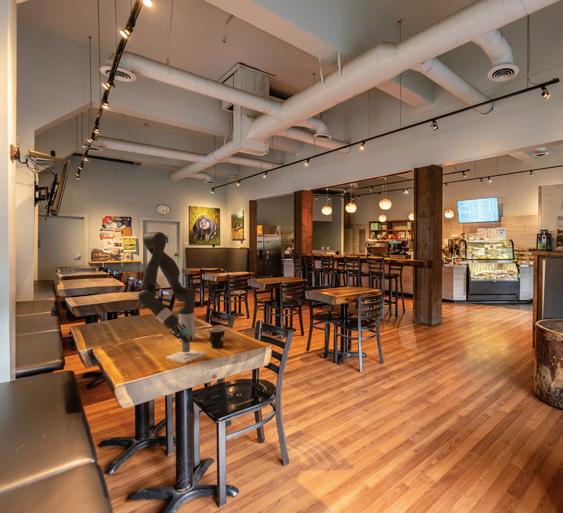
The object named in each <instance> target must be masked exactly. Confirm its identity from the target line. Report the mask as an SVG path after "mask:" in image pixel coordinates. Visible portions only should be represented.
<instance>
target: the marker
mask: <svg viewBox="0 0 563 513" xmlns="http://www.w3.org/2000/svg"><path fill="white" fill-rule="evenodd" d="M182 333H183V334H184V336H186V338H187V339H188V340H189V342H188V343H187V344H186V343H185V342H184V341H183V340H182V342H181V347H182V348H181V351H182V352H190V350H191V341H190V328H183V329H182Z"/></svg>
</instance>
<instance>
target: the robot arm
mask: <svg viewBox="0 0 563 513" xmlns="http://www.w3.org/2000/svg"><path fill="white" fill-rule="evenodd" d="M142 239H143V244H144V246H145V248H146V249H147V250H148V251H149V253H150V255H151V257H150V259H149V261H148V262H147V264H146V265H145V268H144V270H143V276H142V285H143V290H141V291H140V292H139V293H138V300H139V302H140V303H141V304H143V306H145V307H146V308H147V309H149V311H151V312H152V314H153V315H154V316H155V317H156V318H157V319H158V320H159V322H160V323H161V324H162V325H163V326H164V327H165V328H166V329H167V330H169V329H170V332H169V333H170V334H171V335H172V336H173V337H175V338H176V339H178V341H179V342H181V343H182V340H183V341H184V342H185V343H186V344H187V343H188V342H189V340H188V339H187V338H186V336H184V334H183V333H182V329H183V328H190V342H193V341H194V340H196V324H195V316H194V315H195V312H194V311H195V306H196V292H195V289H193V288H192V287H183V286H182V284H181V282H180V274H181V272H180V268H179V267H178V265H177V263H176V261H175V260H174V259H173V258H172V257H171V256H170V255H169V254H167V253H166V252H165V251H164V250H165V247H166V244H167V236H166V234H165V233H164V232H161V231H149V232H146V233H144V235H143V237H142ZM159 268H160V271H161V272H162V274H163V276H164V277H165V278H166V281H167V282H168V284H169V286H170V288H171V290H172V293H173V295H174V297H175V300H176V301H178V302H180V303H184V304H183V305H184V306H183V307H179V309H178V317H177V315H176V314H174V313H173V311H171V309H169V308H168V307H167V306H166V305H165V304H164V302H162V301H160V300H158V299H157V298H156V295H157V278H158V272H159Z"/></svg>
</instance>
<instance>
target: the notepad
mask: <svg viewBox="0 0 563 513" xmlns="http://www.w3.org/2000/svg"><path fill="white" fill-rule="evenodd" d="M204 355H205V356H207V352H203V351H198V350H196V349H195V350H193V349H190V352H182V350H181V351H179V352H178V351H177V352H176V353H173V354H170V355H166V356H165V359H166V360H168V359H169V360H168V361H173V362H177V363H181V364H184V363H185V364H187V362H188V363H190V362H192V360H193V361H195V360H197V358H198V359H200V358H203V357H205V356H204ZM202 356H203V357H202ZM199 357H200V358H199ZM194 359H195V360H194ZM189 361H190V362H189Z"/></svg>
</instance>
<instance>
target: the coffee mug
mask: <svg viewBox="0 0 563 513" xmlns="http://www.w3.org/2000/svg"><path fill="white" fill-rule="evenodd" d="M225 331H226V330H225V328H220V327H219V328H212V329H210V330H209V342H210V344H211V349H215V350H219V349H223V347H224V340H225V339H224V338H225Z"/></svg>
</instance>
